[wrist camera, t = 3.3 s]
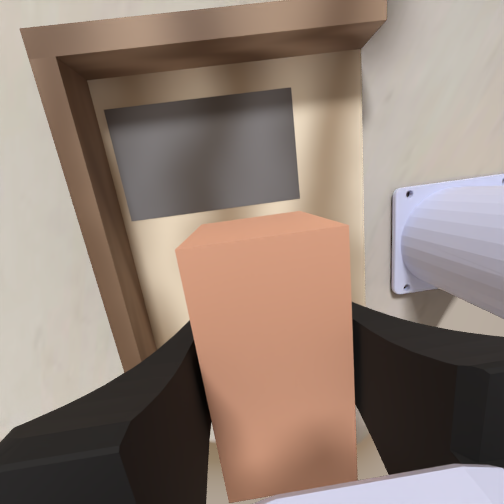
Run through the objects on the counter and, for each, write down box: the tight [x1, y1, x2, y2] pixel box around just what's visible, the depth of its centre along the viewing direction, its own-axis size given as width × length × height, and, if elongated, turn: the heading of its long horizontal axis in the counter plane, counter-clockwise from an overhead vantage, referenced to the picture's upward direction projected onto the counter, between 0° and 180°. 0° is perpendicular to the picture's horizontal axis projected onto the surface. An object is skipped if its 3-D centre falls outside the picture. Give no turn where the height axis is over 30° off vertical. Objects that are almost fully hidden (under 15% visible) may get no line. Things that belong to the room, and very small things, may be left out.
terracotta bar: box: [175, 211, 358, 503], centre depth 10 cm, size 9×4×5 cm, turn 8°
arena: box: [20, 0, 387, 373], centre depth 15 cm, size 17×19×4 cm
